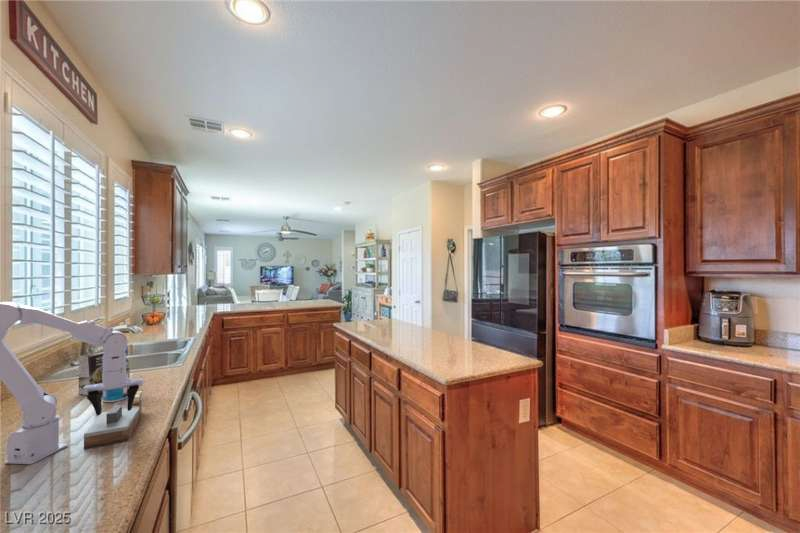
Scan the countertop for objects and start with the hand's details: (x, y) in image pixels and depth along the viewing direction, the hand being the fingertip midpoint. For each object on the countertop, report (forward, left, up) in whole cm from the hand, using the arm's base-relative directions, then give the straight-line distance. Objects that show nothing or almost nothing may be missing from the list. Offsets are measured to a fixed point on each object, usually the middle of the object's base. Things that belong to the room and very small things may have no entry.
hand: (114, 411), depth 106 cm
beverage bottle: (+26, +25, -7) cm, 36 cm away
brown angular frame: (+3, +2, -7) cm, 8 cm away
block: (+13, +4, -2) cm, 14 cm away
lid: (0, 0, -3) cm, 3 cm away
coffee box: (+33, +41, -7) cm, 53 cm away
